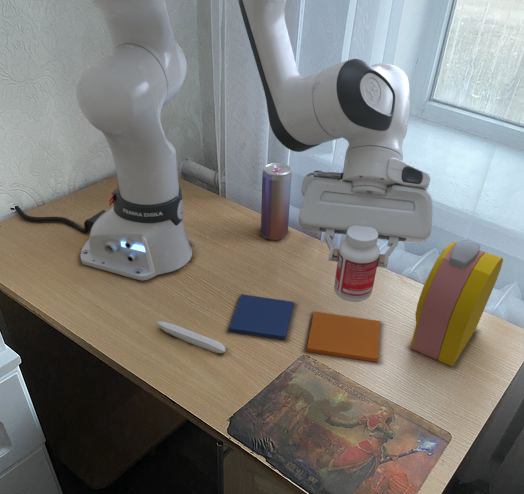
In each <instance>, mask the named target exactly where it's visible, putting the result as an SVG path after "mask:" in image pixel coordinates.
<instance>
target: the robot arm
mask: <svg viewBox="0 0 524 494" xmlns="http://www.w3.org/2000/svg"><path fill="white" fill-rule="evenodd" d="M237 1H238V5H239V9H240V13H241V17H242V21H243V24H244V27H245V30H246V35H247V38H248V41H249V44H250V48H251V52H252V54H253V57H254V61H255V65H256V68H257V71H258V75H259V77H260V82H261V85H262V88H263V92H264V96H265V102H266V109H267V110H266V111H267V117H268V122H269V126H270V130H271V131H272V133H273V135H274V136H275V138H276V139H277V141H278V142H279V143H281V145H282V146H283V147H285V148H287V149H288V150H290V151H292V152H296V153H302V152H305V151H308V150H310V149H313V148H315V147H318V146H320V145H321V144H324V143H328V142H331V141H335V140H339V139H344V140H346V141H347V142H348V146H347V148H346V150H345V155H344V163H343V169H342V172H338V171H337V172H336V171H323V170H314V171H313V172H310V173H307V174H306V175H305V176H304V177H303V179H302V185H301V195H302V196H303V198H302V201H301V204H300V209H299V212H298V213H299V214H298V224H299V225H300V227H301V228H302V229H303V230H304V231H305V230H306V231H313V232H322V233H324V240H325V243H326V245H327V248H328V250H329V254H328V262H336V263H338V255H339V248H337V247H335V246H334V243H333V240H335V234H336V235H344V236H346V234H347V230H348V228H350V227H351V226H354V225H356V226H365V227H372V228H374V229H375V230H377V232H378V240H386V241H387V247H389V248H388V249H387V250H386V252H385V253H380V254H379V259H378V264H377V268H382V269H387V268H388V264H389V257H390V256H391V255H392V254H393V252H394V251H395V250H396V249H397V247H398V246H399V242H400V243H401V242H403V243H411V244H418V245H420V244H423V243H425V242H426V241H427V240H428V239H429V238H430V236H431V234H432V229H433V228H432V227H433V212H434V211H433V198H432V196H431V194H430V192H428V189H429V187H430V182H431V175H430V173H428V172H427V171H424V170H422V169H419V168H417V167H415V166H412V165H410V164H409V163H406V162H405V161H403V160H404V159H403V158H404V155H403V154H404V153H403V144H404V140H405V138H406V135H407V133H408V127H409V120H410V119H409V118H410V111H411V109H410V108H411V89H410V88H411V87H410V82H409V78H408V76H407V74H406V73H405V71H403V70H402V69H401V68H400V67H398V66H396V65H394V64H390V63H383V62H381V63H374V64H372V65H370V64H369V63H368V62H366V61H364V60H362V59H359V58H351V59H348V60H344V61H342V62H339V63H336V64H334V65H331V66H329V67H326V68H324V69H323V70H321V71H319V72H316V73H314V74H311V75H308V76H305V77H304V76H302V75H301V74H300V72H299V70H298V65H297V62H296V58H295V54H294V50H293V47H292V43H291V39H290V35H289V30H288V27H287V23H286V4H287V0H237ZM90 2H91V3H92V4H93V6H94V7H95V8H96V9H98V10H99V11H100V13H101V14H102V17H103V20H104V21H105V24H106V26H107V30H108V33H109V35H110V40H111V50H109V51H107V52H105V53H103V54H101V55H100V56H98V57H96V58H95V59H93V61H92V62H91V63H90V64H89V65H88V66H87V68H86V69H85V71H84V72H83V73H82V75H81V76H80V77H79V79H78V81H77V85H76V101H77V103H78V106H79V109H80V111H81V114H82V115H83V116H84V117H85V119H86V120H87V121H88V123H89V124H91V125H92V126H93V127H94V128H95V129H97V130H98V131H100V132H102V134H103V136H104V138H105V139H106V142H107V144H108V146H109V149H110V152H111V155H112V158H113V163H114V167H115V173H116V178H117V184H116V188H115V189H114V190H113V191H112V192H111V196H110V197H109V198H108V200H107V202H108V206H109V207H110V208H108V209H107V210H104V209H102V210H101V211H98V212H97V213H96V214H94V215H93V216H91V217H89V218H87V219H85V220H84V222H83V227H84V228H83V227H81V226H79V225H78V224H77V223H76V222H74V221H73V220H71V219H69V218H67V217H64V216H63V217H62V216H31V215H28V214H26V213H25V212H24V211H23V210H22V209H21V208H20V206H19V205H17V206H15V209H14V208H11V207H10V209H9V210H10V211H16V212H17V214H19V216H20V217H21V218H22V219H24V220H26V221H30V222H38V223H41V222H43V223H44V222H61V223H64V224H67V225H69V226H70V227H72V228H73V229H75V230H77V231H79V232H81V233H83V234H85V233H89V239H88V240H86V241H85V243H84V245H83V246H82V248H81V250H80V253H79V254H80V255H79V257H80V262H81V264H82V265H85V266H88V267H91V268H94V269H99V270H102V271H105V272H109V273H113V274H116V275H120V276H124V277H127V278H131V279H133V280H136V281H137V280H138V281H141V282H142V281H143V282H145V281H148V280H151V279H152V278H154V277H156V276H159V275H163V274H168V273H172V272H174V271H178V270H180V269H181V268H183V267H184V266H186V265H187V264H188V263H189V262H190V260H191V259H192V257H193V248H192V247H191V244H190V242H189V239H188V236H187V232H186V227H185V224H184V212H185V211H184V210H185V207H184V199H183V194H182V193H183V192H182V188H181V186H180V184H179V170H178V160H177V158H178V157H177V151H176V148H175V146H174V145H173V144H172V142H170V140H168V139H167V137H166V134H165V132H164V128H163V126H162V121H161V114H162V109H163V107H165V106H166V105H167V104H169V102H170V101H172V100H173V99H174V98H175V97H176V96H177V95H178V93H179V92H180V89H181V88H182V86H183V84H184V82H185V79H186V77H187V71H188V64H187V63H188V62H187V59H186V56H185V53H184V51H183V49H182V47H181V45H179V44H178V42H177V41H176V38H175V34H174V30H173V28H172V27H173V26H172V23H171V19H170V16H169V15H170V14H169V12H168V8H167V2H166V0H90ZM112 205H113V206H112ZM111 206H112V207H111Z"/></svg>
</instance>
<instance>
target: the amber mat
mask: <svg viewBox="0 0 524 494" xmlns="http://www.w3.org/2000/svg"><path fill="white" fill-rule="evenodd" d="M312 314H313V315H312V319H311V323H310V324H311V325H310V328H309V329H310V330H309V333H308V340H307V345H306V349H305V350H306V352H308V353H315V354H322V355H328V356H329V355H330V356H334V357H341V358H349V359H354V360H361V361H367V362H375V363H378V361H379V354H380V353H379V352H380V351H379V350H380V334H381V321H380V320H376V319H368V318H360V317H353V316H347V315H341V314H340V315H339V314H334V313H326V312H319V311H313V313H312Z"/></svg>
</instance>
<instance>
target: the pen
mask: <svg viewBox="0 0 524 494" xmlns="http://www.w3.org/2000/svg"><path fill="white" fill-rule="evenodd" d="M155 323H156V324H157V326H158V327H159V328H160V329H161V330H162V331H164V332H165V333H167V334H169V335H171V336H173V337H175V338H177V339H179V340H181V341H184V342H186V343H189V344H191V345H195V346H197V347H199V348H202V349H205V350H207V351H210V352H212V353H215V354H224V353H226V351H227V350H226V349H227V348H226V347H225V345H224V343H221V342H220V341H218V340H215V339H213V338H210V337H208V336H205V335H203V334H200V333H197V332H195V331H192V330H190V329H187V328H184V327H181V326H179V325H176V324H173V323H170V322H167V321H156V322H155Z"/></svg>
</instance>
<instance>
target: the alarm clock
mask: <svg viewBox="0 0 524 494" xmlns="http://www.w3.org/2000/svg"><path fill="white" fill-rule="evenodd" d="M503 262H504V259H503V258H502V257H501V256H498V255H495V254H493V253H489V252H487V251H486V252H485V251H483V250H481V245H480V243H477V242H474V241H471V240H468V239H463V240H460V241H458V242H457V241H452V242H450V244H448V245H447V246H446V247H445V248H443V250H442V252H441V253H440V254H439V256H438V257H437V259H436V260H435V262H434V264H433V266H432V268H431V270H430V272H429V274H428V276H427V279H426V280H425V282H424V284H423V287H422V290H421V292H420V295H419V299H418V301H417V304H416V309H415V327H414V330H413V336H412V340H411V344H410V349H411V350H413V351H416V352H418V353H421V354H422V355H425V356H427V357H429V358H432V359H434V360H435V361H438V362H441V363H443V364H445V365H448V366H449V367H453V366H454V365H455V363H456V362H457V360H458V358H459V357H460V355H461V354H462V352H463V350H464V349H465V347H466V346H467V344H468V343H469V341H470V340H471V338H472V336H473V335H474V334H475V332H476V330H477V328H478V325H479V323H480V320H481V318H482V315H483V313H484V311H485V308H486V306H487V303H488V302H489V299H490V297H491V294H492V292H493V289H494V287H495V285H496V282H497V280H498V277H499V275H500V272H501V269H502V266H503Z"/></svg>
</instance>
